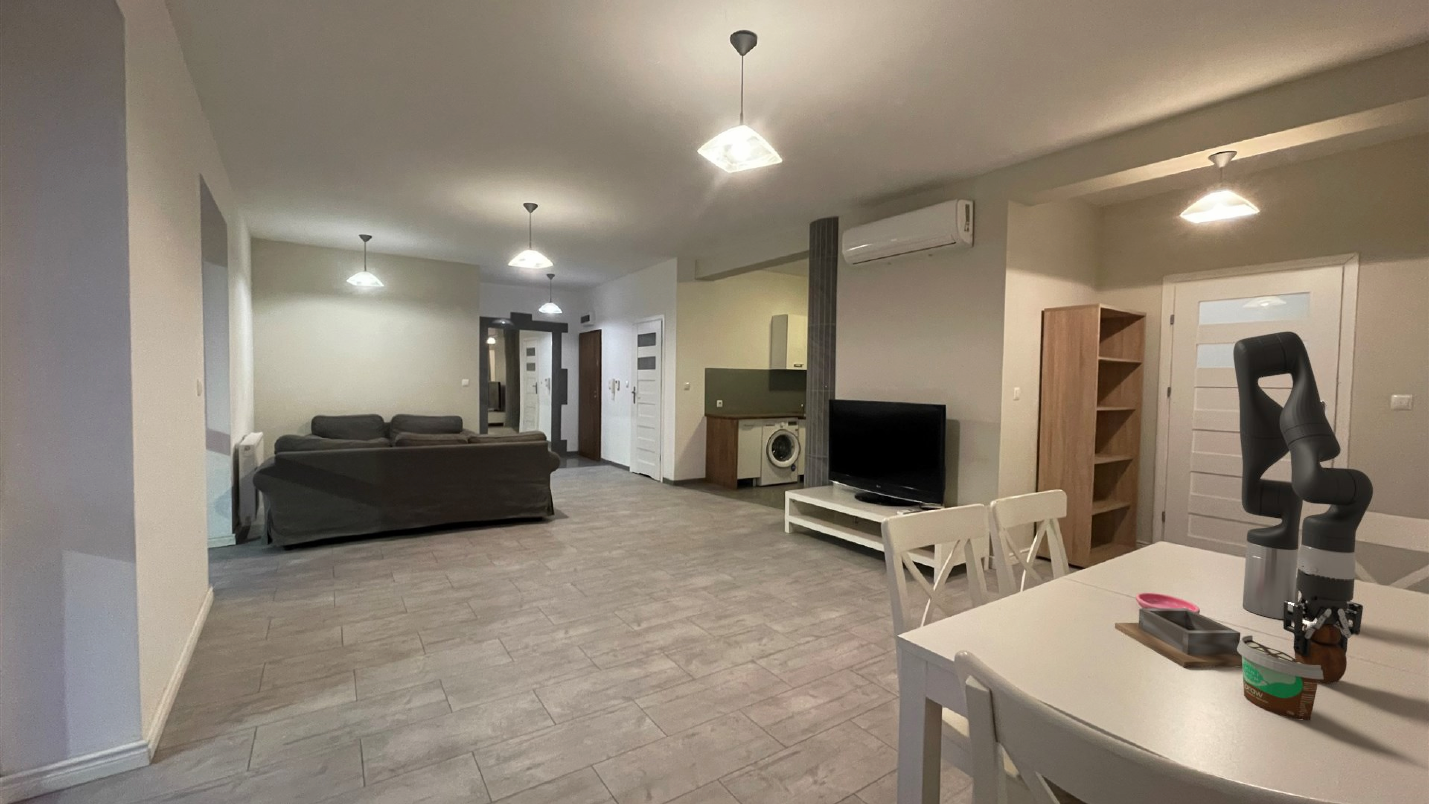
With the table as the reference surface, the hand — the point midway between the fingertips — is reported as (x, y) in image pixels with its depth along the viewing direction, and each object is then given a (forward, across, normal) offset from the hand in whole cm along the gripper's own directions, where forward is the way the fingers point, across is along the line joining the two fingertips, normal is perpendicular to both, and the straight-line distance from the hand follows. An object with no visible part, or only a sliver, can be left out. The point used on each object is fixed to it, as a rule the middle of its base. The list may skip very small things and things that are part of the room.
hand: (1319, 654), depth 110 cm
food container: (+5, +20, +8) cm, 22 cm away
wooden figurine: (+5, 0, 0) cm, 5 cm away
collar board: (+5, +14, -14) cm, 20 cm away
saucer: (+5, +3, -31) cm, 32 cm away
